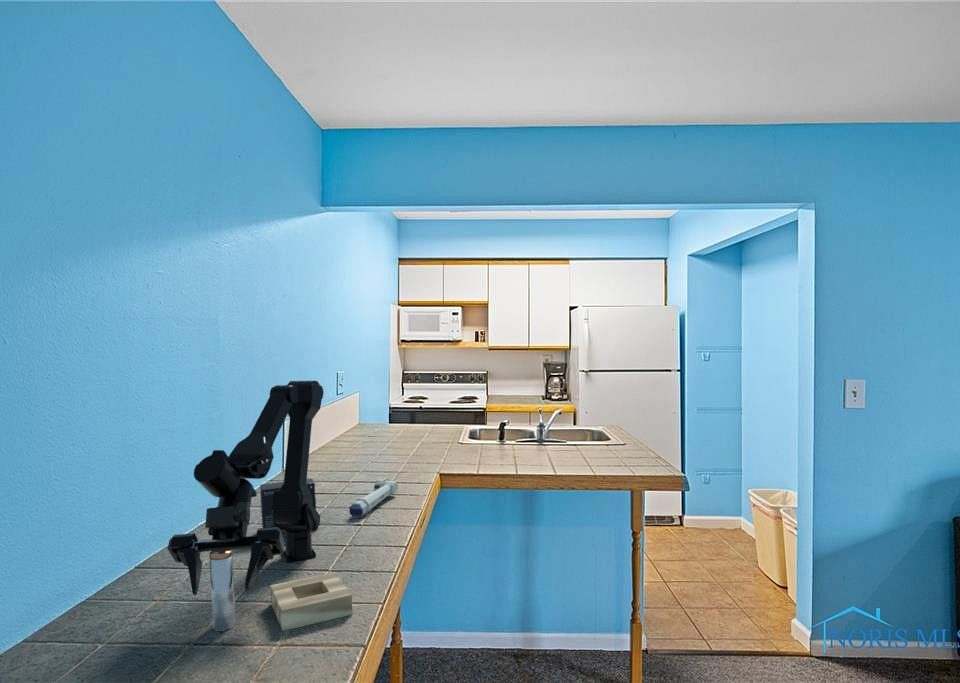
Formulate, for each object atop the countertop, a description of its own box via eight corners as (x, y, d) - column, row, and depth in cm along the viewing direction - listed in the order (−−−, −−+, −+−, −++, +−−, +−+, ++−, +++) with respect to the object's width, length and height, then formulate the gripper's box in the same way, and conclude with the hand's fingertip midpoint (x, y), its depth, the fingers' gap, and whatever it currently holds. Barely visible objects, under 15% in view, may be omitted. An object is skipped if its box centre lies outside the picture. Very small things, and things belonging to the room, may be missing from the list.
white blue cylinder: (362, 501, 167) (402, 476, 191) (340, 500, 169) (382, 475, 193) (363, 521, 167) (403, 493, 191) (341, 519, 169) (383, 492, 193)
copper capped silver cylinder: (212, 624, 109) (208, 550, 109) (234, 619, 111) (231, 546, 111) (213, 633, 106) (210, 557, 106) (236, 628, 108) (233, 552, 107)
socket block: (271, 604, 117) (270, 585, 117) (335, 589, 122) (334, 571, 122) (282, 631, 106) (281, 610, 106) (352, 614, 112) (351, 594, 111)
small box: (314, 522, 165) (313, 477, 165) (317, 530, 159) (316, 483, 159) (261, 530, 161) (259, 483, 160) (262, 538, 154) (260, 489, 154)
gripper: (168, 489, 110) (147, 576, 100) (278, 482, 113) (269, 566, 102) (185, 520, 118) (167, 604, 108) (287, 513, 121) (280, 594, 110)
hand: (220, 592), depth 107 cm, fingers open, 8 cm apart
